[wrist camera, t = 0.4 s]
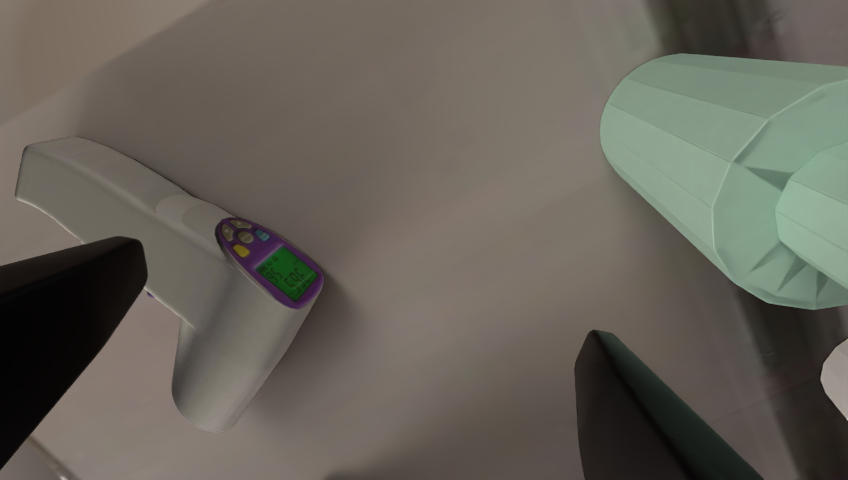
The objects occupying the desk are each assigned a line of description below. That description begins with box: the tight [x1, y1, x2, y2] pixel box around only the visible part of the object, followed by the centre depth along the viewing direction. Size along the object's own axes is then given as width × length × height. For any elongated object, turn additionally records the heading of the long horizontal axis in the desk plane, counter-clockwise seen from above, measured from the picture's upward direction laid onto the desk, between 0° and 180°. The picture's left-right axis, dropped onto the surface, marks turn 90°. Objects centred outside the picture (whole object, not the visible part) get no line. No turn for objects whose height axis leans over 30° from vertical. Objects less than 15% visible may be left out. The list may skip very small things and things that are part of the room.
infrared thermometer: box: [15, 137, 324, 432], centre depth 25 cm, size 5×12×15 cm
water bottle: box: [600, 53, 848, 310], centre depth 14 cm, size 6×6×14 cm
